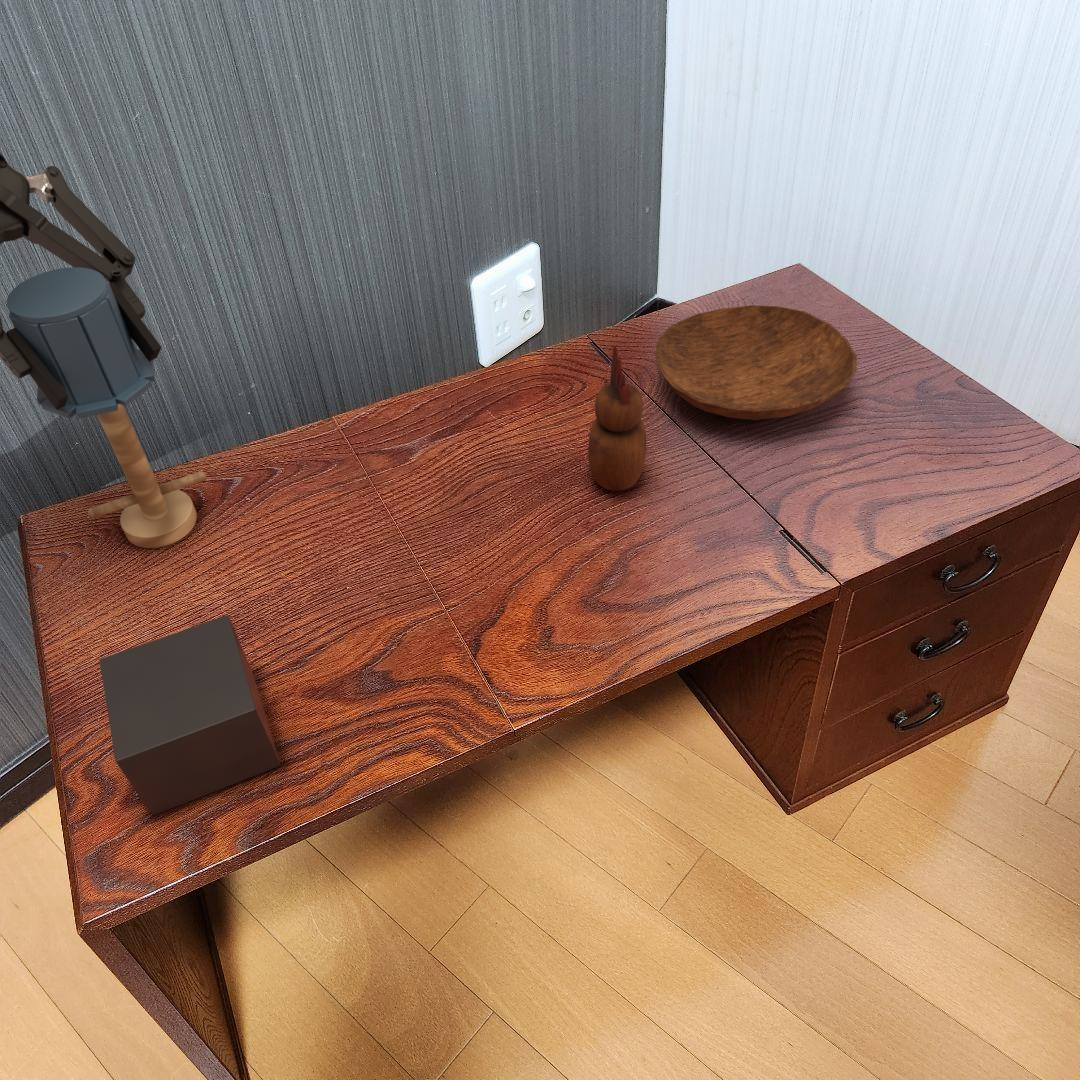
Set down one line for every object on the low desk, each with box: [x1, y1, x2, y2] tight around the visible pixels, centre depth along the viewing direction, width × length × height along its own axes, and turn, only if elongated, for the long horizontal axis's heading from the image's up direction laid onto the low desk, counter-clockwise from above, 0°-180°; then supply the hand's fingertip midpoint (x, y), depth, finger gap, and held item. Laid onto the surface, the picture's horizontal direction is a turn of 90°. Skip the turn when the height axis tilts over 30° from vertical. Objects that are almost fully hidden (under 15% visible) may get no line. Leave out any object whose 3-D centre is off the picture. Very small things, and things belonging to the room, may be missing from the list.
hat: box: [6, 266, 156, 419], centre depth 78 cm, size 10×10×9 cm
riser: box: [99, 614, 282, 817], centre depth 73 cm, size 10×10×8 cm
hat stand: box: [87, 404, 208, 549], centre depth 88 cm, size 11×7×16 cm, turn 118°
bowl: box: [654, 304, 858, 421], centre depth 104 cm, size 20×22×5 cm
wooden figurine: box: [587, 344, 647, 492], centre depth 91 cm, size 7×6×15 cm
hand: (110, 378), depth 78 cm, fingers closed on hat, 8 cm apart
